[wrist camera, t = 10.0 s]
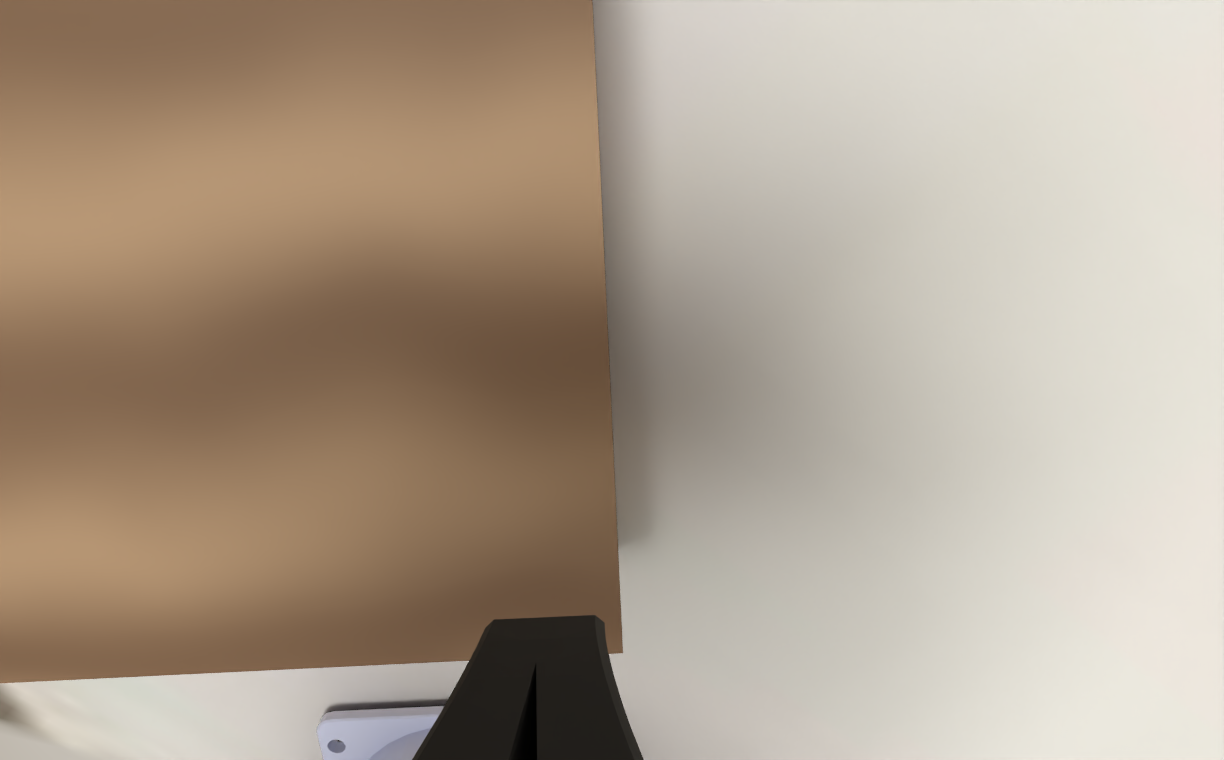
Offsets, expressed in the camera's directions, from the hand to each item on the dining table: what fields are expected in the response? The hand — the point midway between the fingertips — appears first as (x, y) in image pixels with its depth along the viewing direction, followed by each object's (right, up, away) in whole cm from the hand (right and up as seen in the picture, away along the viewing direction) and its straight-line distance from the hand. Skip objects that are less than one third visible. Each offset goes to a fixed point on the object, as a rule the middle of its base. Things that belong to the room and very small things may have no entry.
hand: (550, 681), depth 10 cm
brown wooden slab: (-8, +5, +9) cm, 13 cm away
